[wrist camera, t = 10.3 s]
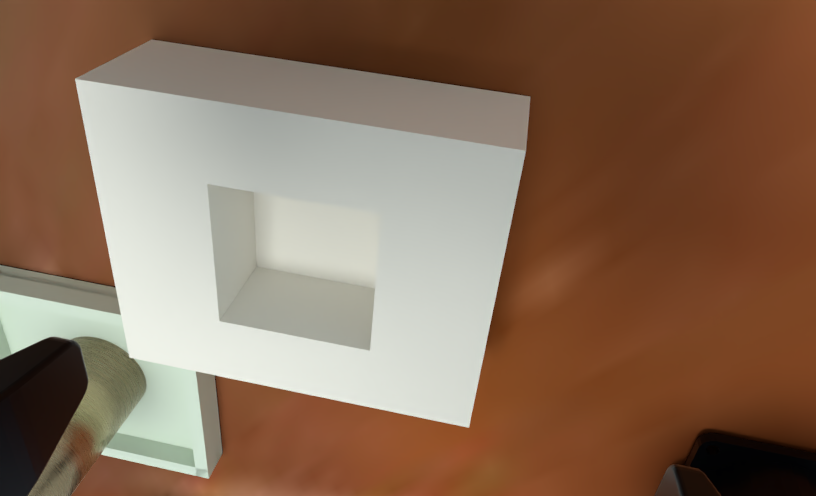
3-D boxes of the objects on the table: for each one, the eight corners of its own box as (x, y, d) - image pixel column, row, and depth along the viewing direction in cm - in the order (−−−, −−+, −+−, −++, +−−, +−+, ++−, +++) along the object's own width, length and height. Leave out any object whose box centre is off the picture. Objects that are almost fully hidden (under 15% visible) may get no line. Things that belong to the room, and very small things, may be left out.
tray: (207, 305, 26) (190, 329, 25) (222, 452, 31) (208, 478, 30) (-19, 261, 27) (-46, 281, 26) (30, 410, 32) (9, 433, 31)
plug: (139, 346, 27) (8, 510, 21) (152, 412, 30) (36, 579, 23) (52, 328, 28) (-105, 483, 21) (70, 395, 30) (-67, 553, 23)
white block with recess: (530, 96, 19) (526, 150, 16) (479, 348, 25) (468, 427, 22) (151, 39, 21) (74, 78, 17) (183, 290, 26) (129, 357, 23)
